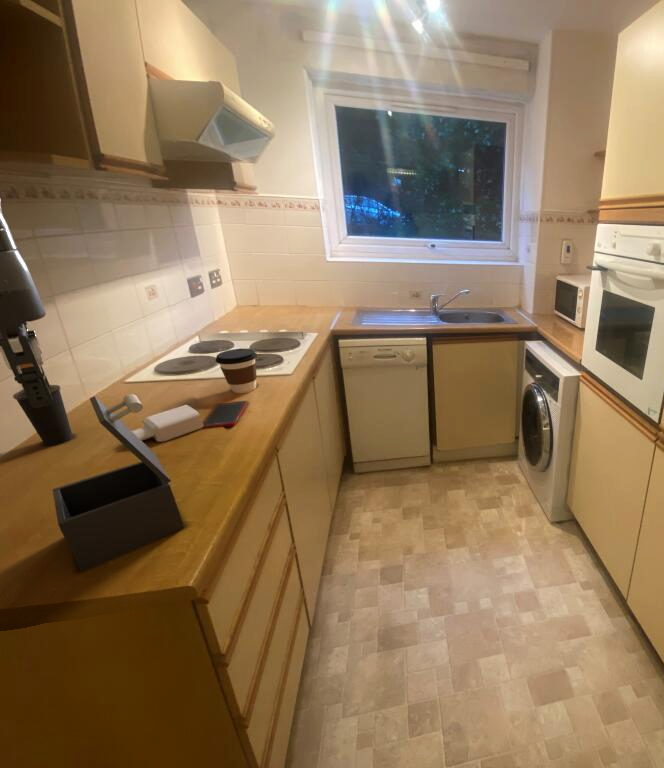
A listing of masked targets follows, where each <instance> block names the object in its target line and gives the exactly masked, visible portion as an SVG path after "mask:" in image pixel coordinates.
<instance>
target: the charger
mask: <svg viewBox="0 0 664 768" xmlns="http://www.w3.org/2000/svg"><path fill="white" fill-rule="evenodd" d="M203 422H204V421H203V419H202V416H201V413H200V412H199V411H197V410H196V409H195V408H193V407H191V406H190V405H188V404H184V405H180V406H178V407H174V408H171V409H167V410H165V411H162V412H159V413H156V414H152V415H150V416H147V417H145V418H144V419H143V420H142V423H143V425H144V426H143V427H139V428H137V429H134V430H131V431H132V432H133V433H134V434H135V435H136V436H137V437H138V438H139V439H140V440H141V441H142V442H143V441H146V440H149V439H151V438H153V439H154V440H155V441H156V442H159V443H160V442H166V441H170V440H172V439H176V438H179V437H181V436H184V435H186V434H189V433H193V432H196V431H198V430H201V429H204V428H203V426H204V425H203Z"/></svg>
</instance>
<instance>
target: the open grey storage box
mask: <svg viewBox="0 0 664 768" xmlns="http://www.w3.org/2000/svg"><path fill="white" fill-rule="evenodd" d="M52 495H53V502H54V506H55V514H56V520H57V525H58V527H59V529H60V531H61V534H62V535H63V537H64V539H65V542H66V544H67V546H68V547H69V550H70V552H71V554H72V556H73V558H74V561H75V563H76V564H77V567H78V569H79V570H80V572H82V571H86V570H87V569H90V568H92V567H94V566H97V565H99V564H102V563H105V562H106V561H108V560H111V559H114V558H116V557H119V556H121V555H123V554H126V553H129V552H130V551H133V550H135V549H138V548H141V547H143V546H145V545H148V544H150V543H152V542H155V541H157V540H159V539H162V538H164V537H167V536H169V535H171V534H174V533H176V532H179V531H181V530H183V529H185V525H184V522H183V519H182V516H181V513H180V511H179V508H178V507H179V506H178V504H177V502H176V499H175V497H174V493H173V490H172V488H171V485H170V482H169V483H167V484H166V483H165V482H164V481H162V480H161V479H160V478H159V477H158V476H157V475H156V474H155V473H154V472H153V471H152V470H151V469H149V468H148V467H147V466H146V465H145V464H144V463H143V462H142V461H141V460H140V461H138V462H135V463H132V464H129V465H126V466H122V467H119V468H116V469H112V470H109V471H105V472H103V473H100V474H96V475H93V476H90V477H87V478H84V479H80V480H78V481H74V482H71V483H68V484H64V485H62V486H61V485H60V486H57V487H55V488H52Z"/></svg>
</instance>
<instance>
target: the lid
mask: <svg viewBox="0 0 664 768" xmlns="http://www.w3.org/2000/svg"><path fill="white" fill-rule="evenodd" d="M89 401H90V404H91V406H92V408H93V410H94V412H95V416H96V417H97V419H98V423H99V424H101V426H102V427H104V429H106V430H107V431H108V432H109V433H110V434H111V435H112V436H113V437H114V438H116V440H118V442H120V443H121V444H122V445H123V446H124V447H125V448H126V449H128V450H129V451H130V452H131V453H132V454H133V455H134V456H135V457H136V458H137V459H138V460H140V462H141V461H142V462H143V463H144V464H145V465H146V466H147V467H148V468H149V469H151V470H152V471H153V472H154V473H155V474H156V475H157V476H158V477H159V478H160V479H161V480H162V481H164V482H165V483H166V484H167V483H169V484H170V483H171V482H172V480H171V478H170V476H169V475H168V473H167V471H166V469H165V468H164V465H162V463H161V461H160V460H159V457H158V456H157V454H156V453H155V452H154V451H153V450H152V449H151V448H150V447H149V446H147V444H146V443H145V442H143V441H141V440H140V439H139V438H138V437H137V436H136V435H135V434H134V433H133V432H132V431H133V430H131V429H130V428H129V427H128V426H127V425H126V424H125V423H124V422H122V420H121V419H123V417H125V416H127V415H129V414H131V413H133V414H138V413H140V412H141V411H143V408H144V405H143V403H142V402H141V401H140V399H139V398H138V396H137V395H136V394H133V393H129V394H125V395H124V396H123V399H122V401H120V402H119V403H116V404H115V405H113V406H111V407H109V408H108V406H106V405H105V404H104V403H103V402H102V401H101V400H100V399H99V398H98V397H97V396H95V395H94V396H92V397H90V398H89ZM124 407H126V408H124ZM122 408H124V409H123V410H121V409H122ZM119 410H121V411H119ZM117 411H119V412H117ZM115 412H117V413H115ZM114 413H115V414H114Z"/></svg>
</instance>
